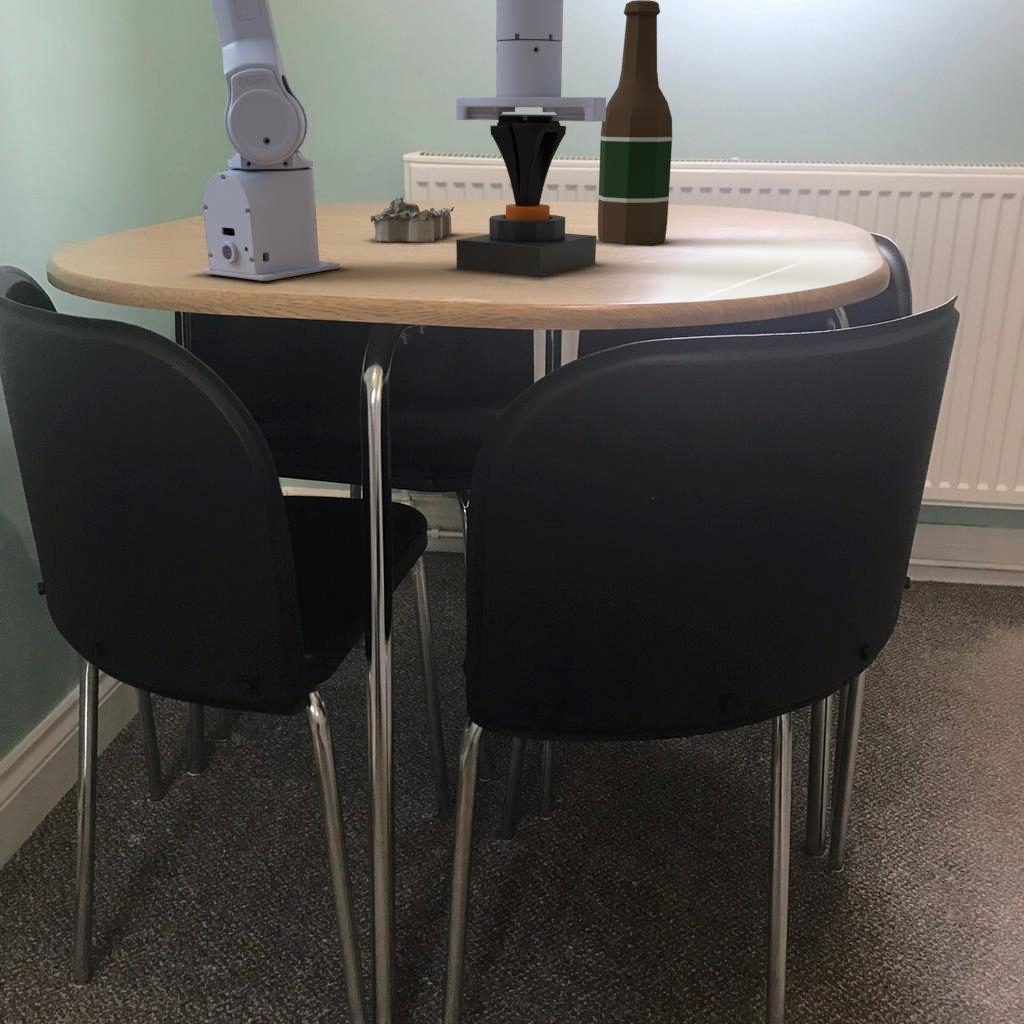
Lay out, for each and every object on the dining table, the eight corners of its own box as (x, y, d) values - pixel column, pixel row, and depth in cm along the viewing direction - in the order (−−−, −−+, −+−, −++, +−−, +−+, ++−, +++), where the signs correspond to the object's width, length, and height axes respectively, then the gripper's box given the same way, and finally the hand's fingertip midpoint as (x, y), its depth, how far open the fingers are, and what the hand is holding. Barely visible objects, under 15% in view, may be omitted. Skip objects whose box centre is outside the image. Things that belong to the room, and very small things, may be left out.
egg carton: (401, 232, 121) (400, 196, 120) (460, 234, 119) (460, 198, 118) (364, 241, 112) (362, 203, 110) (428, 244, 110) (427, 205, 108)
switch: (534, 232, 91) (534, 208, 90) (497, 229, 93) (497, 206, 92) (557, 228, 94) (557, 205, 93) (521, 225, 96) (521, 202, 95)
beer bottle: (589, 244, 110) (597, -2, 102) (604, 236, 117) (612, 5, 108) (660, 247, 108) (674, -4, 99) (671, 238, 115) (685, 4, 106)
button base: (539, 278, 88) (540, 225, 87) (456, 269, 93) (455, 218, 91) (595, 264, 96) (597, 215, 94) (516, 257, 101) (516, 210, 99)
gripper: (625, 42, 87) (618, 207, 92) (486, 46, 94) (487, 199, 99) (584, 37, 81) (579, 213, 86) (440, 42, 89) (443, 204, 94)
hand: (527, 206), depth 93 cm, fingers closed, pressing on switch
